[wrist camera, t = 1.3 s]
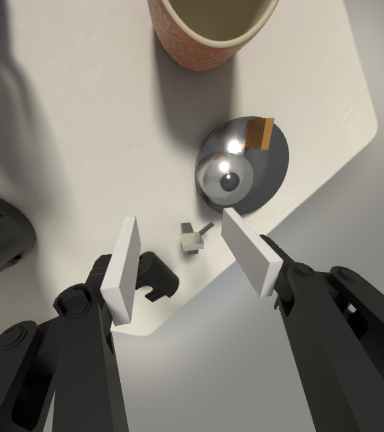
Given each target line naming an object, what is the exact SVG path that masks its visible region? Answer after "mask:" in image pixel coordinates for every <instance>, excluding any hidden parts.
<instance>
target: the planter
mask: <svg viewBox="0 0 384 432" xmlns="http://www.w3.org/2000/svg"><path fill="white" fill-rule="evenodd" d="M147 1H148V6H149V11H150V15H151V19H152V23H153V26H154V29H155V31H156V34H157V36H158V38H159V40H160V42H161V44H162V46H163V47H164V49H165V50H166V52H167V53H168V54H169V55H170V57H171V58H172V59H173V60H174V61H175V62H177V63H178V64H179V65H181V66H183V67H184V68H187V69H189V70H193V71H207V70H211V69H213V68H216V67H218V66H219V65H221V64H223V63H224V62H225V61H227V60H228V59H229V58H230V57H231V56H232V55H234V54H235V53H236V52H238V51H239V50H240V49H241V48H242V47H244V46H245V45H246V44H247V43H248V42H249V41H250V40H251V39H252V38H253V37H254V36H255V35H256V34H257V33H258V32H259V31H260V30H261V28H262V27H263V26H264V25H265V23H266V22H267V20H268V19H269V17H270V16H271V14H272V13H273V11H274V9H275V7H276V5H277V3H278V1H279V0H147Z"/></svg>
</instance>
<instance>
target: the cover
mask: <svg viewBox="0 0 384 432" xmlns="http://www.w3.org/2000/svg"><path fill="white" fill-rule="evenodd" d="M197 178H198V182H199V185H200V187H201V188H202V189H203V191H204V192H205V193H206V195H207V196H208V197H209V198H210V199H211V200H212V201H213V202H214V203H216V204H219V205H231V204H234V203H236V202H238V201H240V200H241V199H242V198H244V197H245V196H246V194H247V193H248V192H249V190H250V188H251V186H252V183H253V169H252V166H251V164H250V163H249V161H248V160H247V159H245V158H244V157H242V156H240V155H236V154H233V153H230V152H227V151H215V152H212V153H210V154H209V155H207V156H206V157H205V158H204V159H203V160H202V162H201V163H200V166H199V168H198V173H197Z"/></svg>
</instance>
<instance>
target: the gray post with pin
mask: <svg viewBox="0 0 384 432" xmlns="http://www.w3.org/2000/svg"><path fill="white" fill-rule="evenodd" d="M213 226H214V224H213V223H212V222H210V223H209V224H208V225H207V226H205V227H204V228H203V229H202V230H201V231H199V232H193V229H192V226H191V223H181V228H182V234H181V243H182V247H183V251H187V255H190V254H197V253H198V249H204V243H203V240H202V238H201V235H203V234H204V233H205V232H206V231H208V230H209V229H210V228H211V227H213Z"/></svg>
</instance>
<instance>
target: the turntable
mask: <svg viewBox="0 0 384 432" xmlns="http://www.w3.org/2000/svg"><path fill="white" fill-rule="evenodd" d="M273 122H274V118H261V117H254V116H250V117H241V118H236V119H233V120H230V121H228V122H226V123H224V124H222V125H221V126H219V127H218V128H217V129H215V130H214V131H213V132H212V133H211V134H210V135H209V137H208V138H207V139H206V141H205V142H204V144H203V145H202V147H201V149H200V152H199V154H198V157H197V161H196V166H195V179H196V184H197V187H198V190H199V192H200V194H201V196H202V197H203V199H204V200H205V201H206V203H207V204H208V205H209V206H210V207H211V208H213V209H214V210H216V211H217V212H220V213H222V214H223V209H224V208H231V207H232V208H233V209H234V210H235V211H236V212H237V213H238V214H239V215H243V214H247V213H250V212H252V211H255V210H256V209H258V208H260V207H261V206H263V205H264V204H265V203H267V202H268V201H269V200H270V199H271V198H272V197H273V196H274V195H275V193H276V192H277V191H278V189H279V188H280V186H281V184H282V182H283V180H284V178H285V175H286V172H287V168H288V163H289V150H288V144H287V141H286V138H285V136H284V134H283V133H282V131H281V130H280V129H279V128H278V127H277V126H276V125H275V124H274V123H273ZM215 151H227V152H230V153H233V154H236V155H240V156H242V157H244V158H245V159H247V160H248V161H249V163H250V164H251V166H252V169H253V183H252V186H251V188H250V190H249V192H248V193H247V194H246V196H245V197H244V198H242V199H241V200H240V201H238V202H236V203H234V204H231V205H219V204H216V203H214V202H213V201H212V200H211V199H210V198H209V197H208V196H207V195H206V193H205V192H204V191H203V189H202V188H201V187H200V185H199V182H198V178H197V173H198V168H199V166H200V163H201V162H202V160H203V159H204V158H205V157H206V156H207V155H209V154H210V153H212V152H215Z"/></svg>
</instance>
